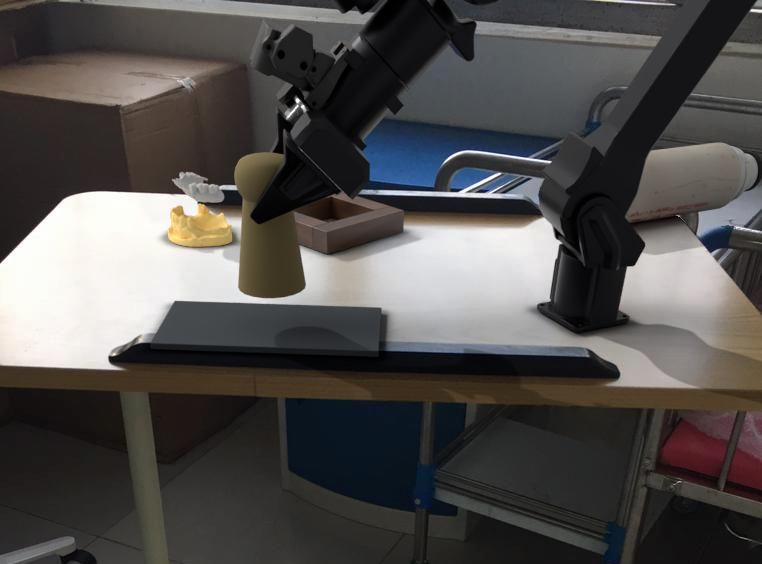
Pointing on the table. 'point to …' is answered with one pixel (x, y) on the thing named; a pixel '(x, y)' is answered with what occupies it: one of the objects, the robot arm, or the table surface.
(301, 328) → the slate mat
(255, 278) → the cork
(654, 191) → the thermos bottle
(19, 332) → the table surface
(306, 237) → the square wooden frame
